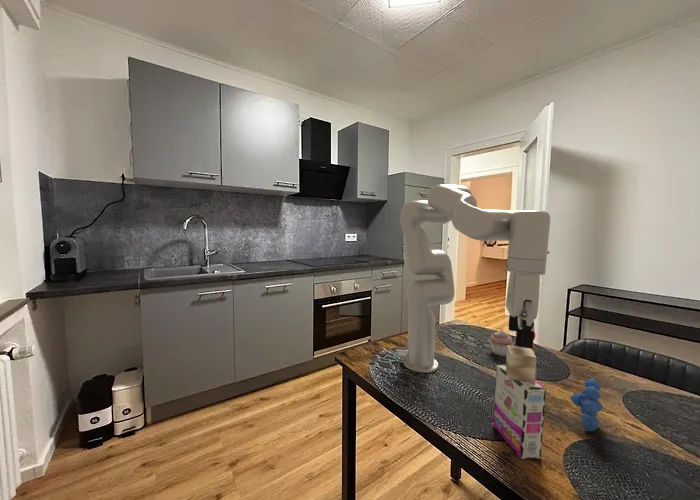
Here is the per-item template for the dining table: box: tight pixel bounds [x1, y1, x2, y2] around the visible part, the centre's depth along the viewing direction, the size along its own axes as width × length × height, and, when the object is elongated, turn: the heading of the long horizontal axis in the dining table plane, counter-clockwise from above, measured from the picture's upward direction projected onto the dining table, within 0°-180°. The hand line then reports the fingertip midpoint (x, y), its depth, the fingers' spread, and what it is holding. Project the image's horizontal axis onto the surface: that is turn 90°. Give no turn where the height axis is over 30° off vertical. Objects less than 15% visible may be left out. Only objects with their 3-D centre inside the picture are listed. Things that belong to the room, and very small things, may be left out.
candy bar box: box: [492, 364, 547, 460], centre depth 68 cm, size 11×5×16 cm, turn 5°
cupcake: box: [488, 329, 515, 358], centre depth 117 cm, size 9×9×10 cm
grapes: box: [569, 378, 604, 432], centre depth 75 cm, size 12×7×12 cm, turn 139°
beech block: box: [505, 345, 537, 383], centre depth 67 cm, size 5×5×6 cm
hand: (519, 338), depth 67 cm, fingers open, 9 cm apart
